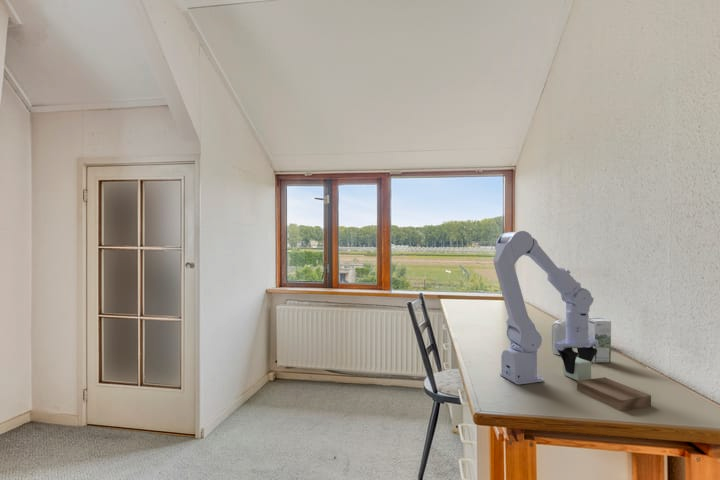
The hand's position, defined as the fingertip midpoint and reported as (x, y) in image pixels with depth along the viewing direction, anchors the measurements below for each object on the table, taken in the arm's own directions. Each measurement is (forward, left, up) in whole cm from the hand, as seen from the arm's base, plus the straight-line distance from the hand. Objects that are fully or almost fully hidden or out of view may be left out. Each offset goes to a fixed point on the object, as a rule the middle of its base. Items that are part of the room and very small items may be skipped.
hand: (577, 371), depth 103 cm
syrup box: (+20, +10, -2) cm, 22 cm away
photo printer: (+16, +20, -2) cm, 26 cm away
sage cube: (0, 0, -1) cm, 1 cm away
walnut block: (-3, -13, -2) cm, 14 cm away
